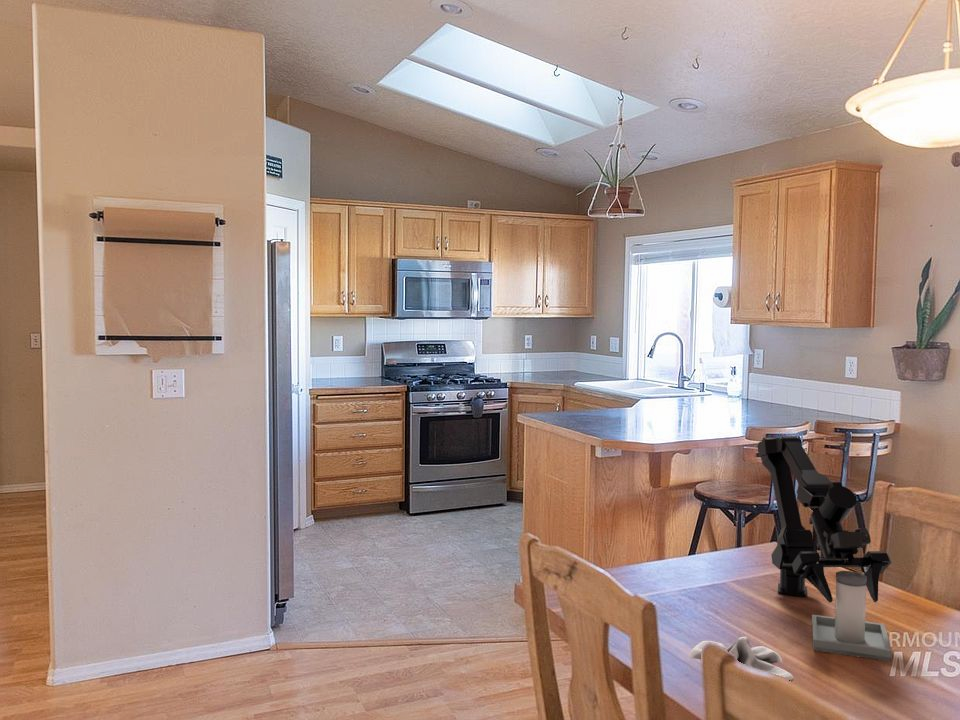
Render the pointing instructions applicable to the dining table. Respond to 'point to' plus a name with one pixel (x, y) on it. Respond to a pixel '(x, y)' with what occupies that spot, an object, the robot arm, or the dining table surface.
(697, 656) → the cloth
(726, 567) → the dining table surface
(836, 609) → the shaker
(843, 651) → the tray
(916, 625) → the dining table surface
